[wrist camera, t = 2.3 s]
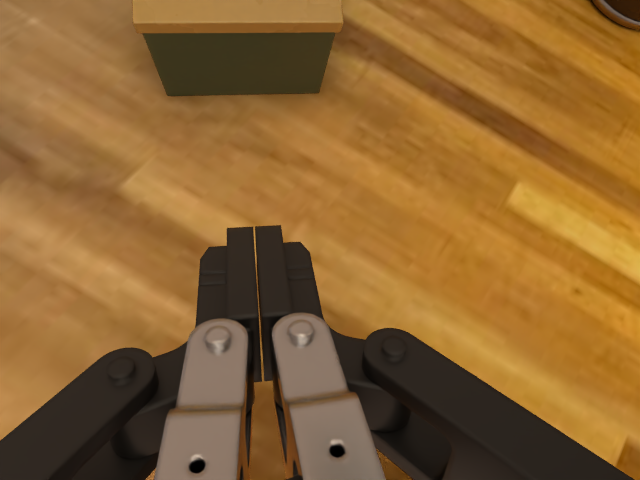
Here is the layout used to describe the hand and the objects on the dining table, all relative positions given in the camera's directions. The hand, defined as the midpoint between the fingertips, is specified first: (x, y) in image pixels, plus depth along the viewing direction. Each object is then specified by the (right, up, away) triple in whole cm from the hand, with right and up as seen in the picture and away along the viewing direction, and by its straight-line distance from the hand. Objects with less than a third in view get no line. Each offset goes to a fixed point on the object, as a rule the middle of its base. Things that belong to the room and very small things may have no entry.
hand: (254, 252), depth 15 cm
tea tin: (-3, +15, +21) cm, 26 cm away
